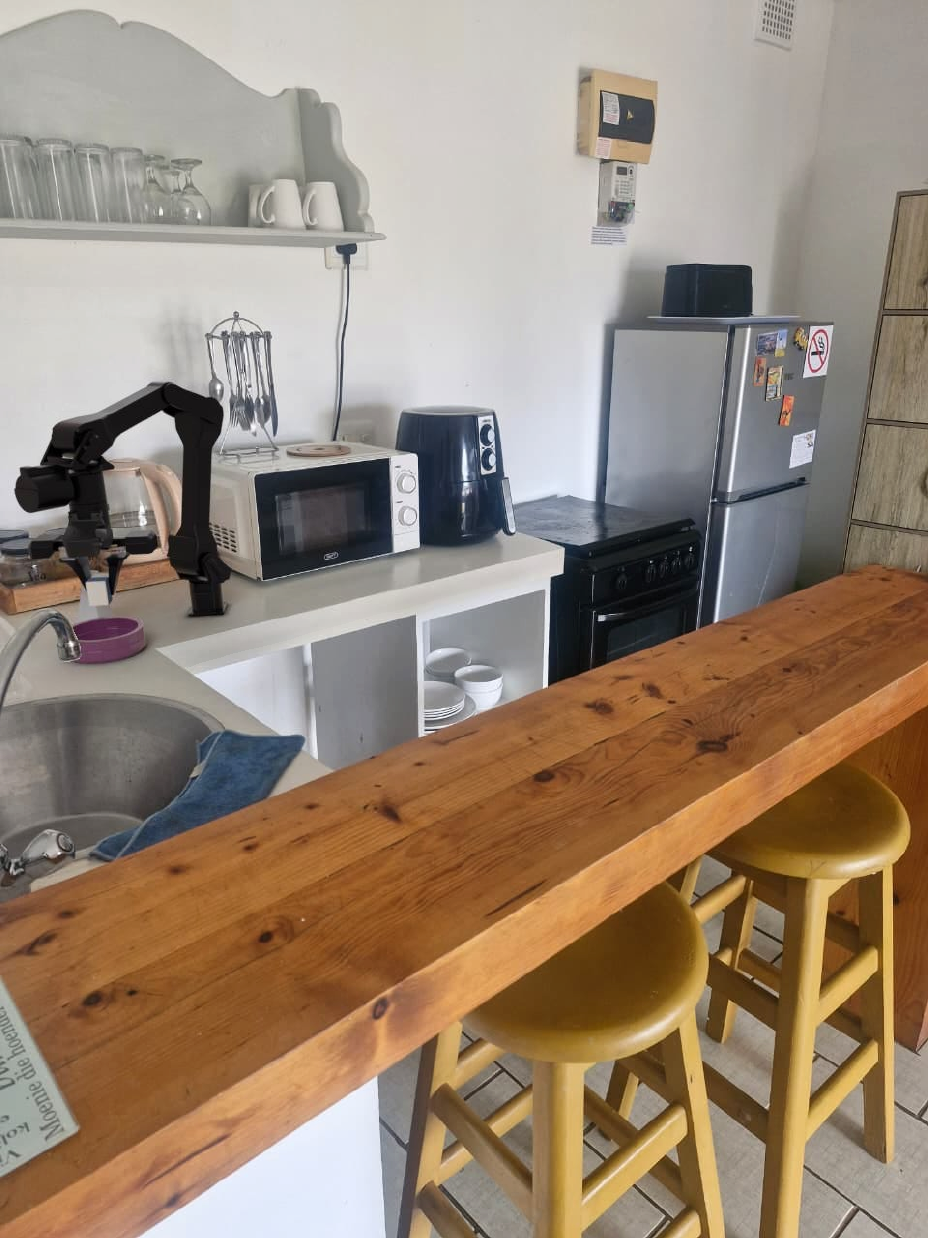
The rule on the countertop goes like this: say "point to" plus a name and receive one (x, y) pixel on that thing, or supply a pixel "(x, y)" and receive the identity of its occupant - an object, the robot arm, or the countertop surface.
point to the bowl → (109, 639)
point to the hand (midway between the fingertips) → (102, 595)
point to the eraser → (99, 590)
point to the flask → (91, 607)
